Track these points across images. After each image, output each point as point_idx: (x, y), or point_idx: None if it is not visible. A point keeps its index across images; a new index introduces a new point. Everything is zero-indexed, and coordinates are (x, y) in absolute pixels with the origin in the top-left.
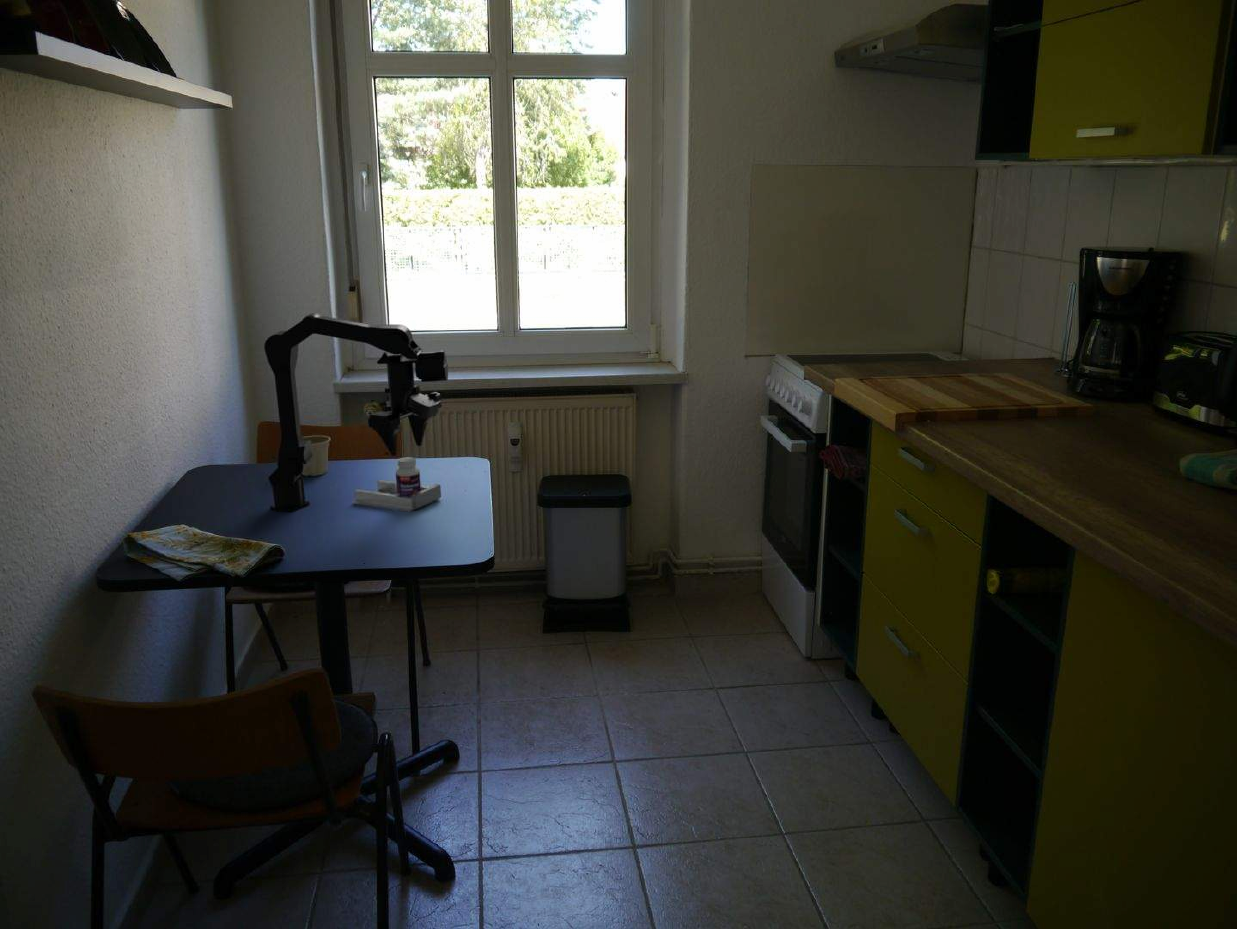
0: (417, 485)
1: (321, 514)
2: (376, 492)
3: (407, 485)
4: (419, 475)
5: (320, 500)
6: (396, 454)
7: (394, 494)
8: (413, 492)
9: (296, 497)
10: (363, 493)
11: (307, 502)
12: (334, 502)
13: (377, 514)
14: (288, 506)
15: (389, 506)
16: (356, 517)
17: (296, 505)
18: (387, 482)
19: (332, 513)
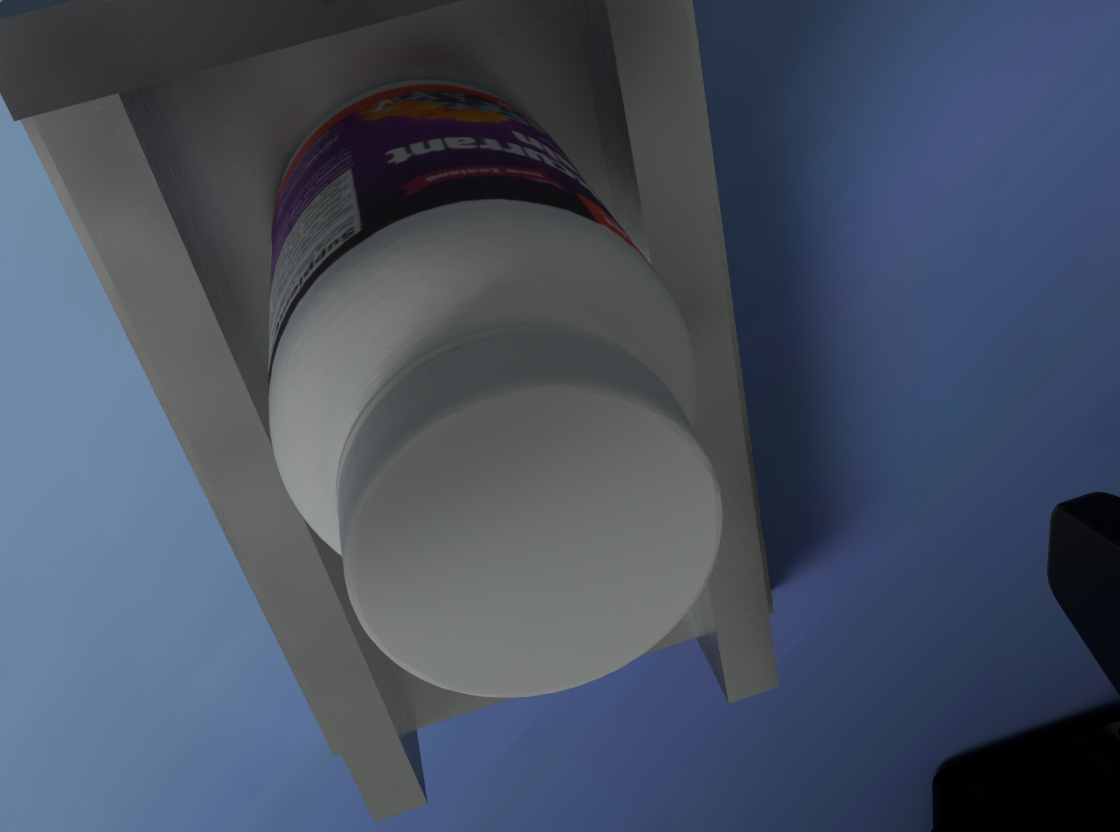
0: (425, 142)
1: None
2: None
3: (595, 194)
4: (348, 232)
5: (825, 801)
6: (1085, 505)
7: None
8: (497, 117)
9: (1104, 809)
10: (762, 595)
11: (947, 789)
12: (813, 709)
13: (908, 160)
14: (1116, 764)
15: (721, 223)
16: (1060, 248)
17: (1071, 757)
18: (382, 717)
19: (1040, 495)
